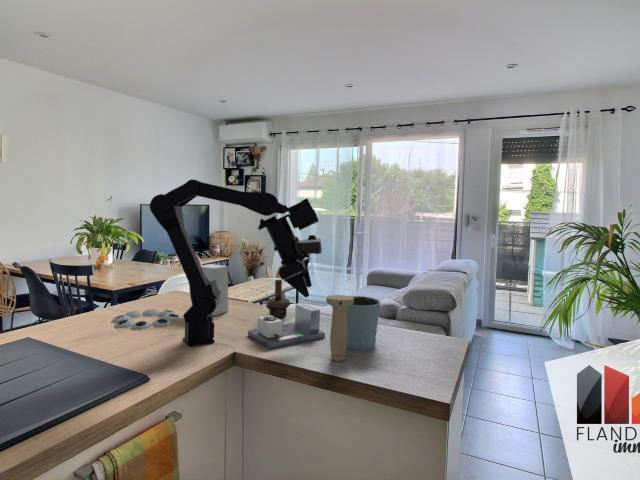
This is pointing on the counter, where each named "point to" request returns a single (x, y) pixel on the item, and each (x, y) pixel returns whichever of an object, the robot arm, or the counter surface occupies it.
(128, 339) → the counter surface
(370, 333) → the teal cup
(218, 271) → the skincare box
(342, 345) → the handle
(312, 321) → the bench
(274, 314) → the industrial component
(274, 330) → the white box with dome
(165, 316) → the grey flat openwork piece
